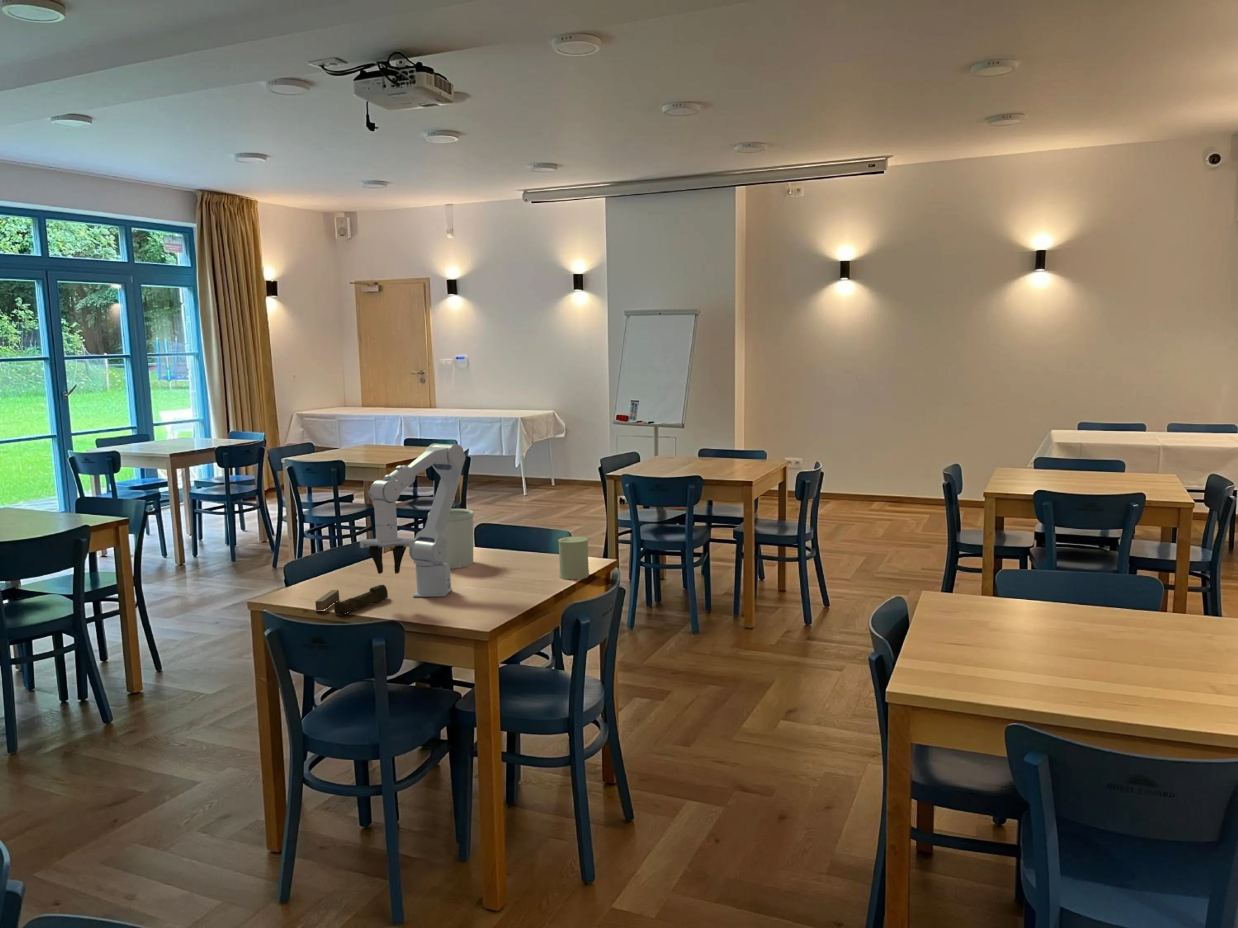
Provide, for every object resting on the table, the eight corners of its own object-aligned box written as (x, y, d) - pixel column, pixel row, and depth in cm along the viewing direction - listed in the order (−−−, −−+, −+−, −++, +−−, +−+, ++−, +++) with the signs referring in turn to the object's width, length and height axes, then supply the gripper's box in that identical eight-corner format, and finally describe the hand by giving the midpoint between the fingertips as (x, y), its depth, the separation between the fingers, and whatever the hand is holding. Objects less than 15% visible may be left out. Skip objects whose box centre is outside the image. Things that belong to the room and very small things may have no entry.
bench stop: (339, 600, 254) (338, 589, 254) (323, 612, 242) (322, 601, 242) (332, 600, 254) (331, 589, 254) (316, 612, 242) (315, 601, 242)
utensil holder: (478, 558, 303) (476, 507, 301) (472, 568, 288) (470, 515, 286) (434, 559, 303) (432, 508, 301) (426, 570, 288) (424, 516, 286)
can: (556, 574, 278) (554, 536, 277) (584, 571, 281) (583, 533, 280) (563, 581, 270) (562, 541, 268) (592, 577, 272) (591, 539, 271)
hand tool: (344, 617, 237) (343, 600, 237) (333, 615, 239) (332, 598, 239) (394, 600, 254) (394, 584, 253) (384, 598, 256) (383, 582, 255)
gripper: (354, 527, 240) (357, 576, 242) (408, 526, 239) (410, 576, 241) (363, 522, 247) (366, 570, 249) (415, 521, 246) (418, 569, 248)
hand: (388, 572), depth 245 cm, fingers open, 4 cm apart
